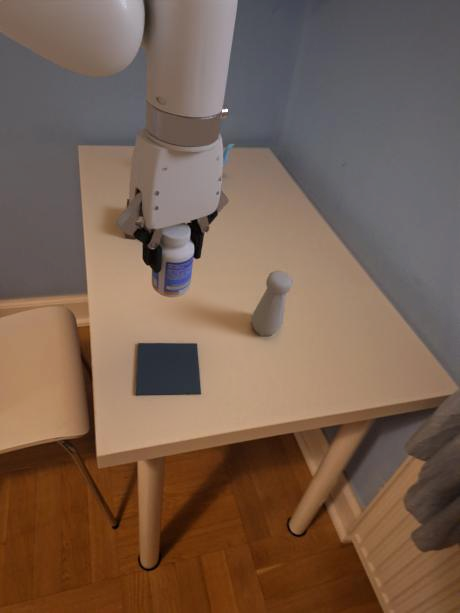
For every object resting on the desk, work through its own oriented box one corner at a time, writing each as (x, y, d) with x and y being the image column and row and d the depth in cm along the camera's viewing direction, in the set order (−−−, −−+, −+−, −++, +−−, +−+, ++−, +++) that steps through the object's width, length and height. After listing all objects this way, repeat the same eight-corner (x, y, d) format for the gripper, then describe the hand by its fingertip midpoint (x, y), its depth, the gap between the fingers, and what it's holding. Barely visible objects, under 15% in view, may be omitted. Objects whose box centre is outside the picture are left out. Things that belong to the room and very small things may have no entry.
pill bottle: (196, 282, 58) (204, 226, 52) (178, 304, 55) (184, 247, 48) (164, 267, 59) (167, 210, 53) (143, 288, 56) (144, 230, 49)
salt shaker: (272, 315, 79) (290, 264, 70) (284, 337, 75) (304, 286, 66) (245, 319, 77) (259, 267, 68) (255, 342, 73) (272, 290, 64)
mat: (135, 395, 62) (135, 394, 62) (138, 344, 69) (138, 342, 68) (200, 394, 64) (201, 393, 64) (196, 344, 71) (197, 343, 70)
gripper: (228, 100, 47) (208, 228, 60) (85, 114, 38) (98, 261, 51) (269, 127, 44) (239, 257, 56) (122, 150, 35) (126, 298, 48)
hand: (172, 258), depth 54 cm, fingers closed on pill bottle, 5 cm apart
